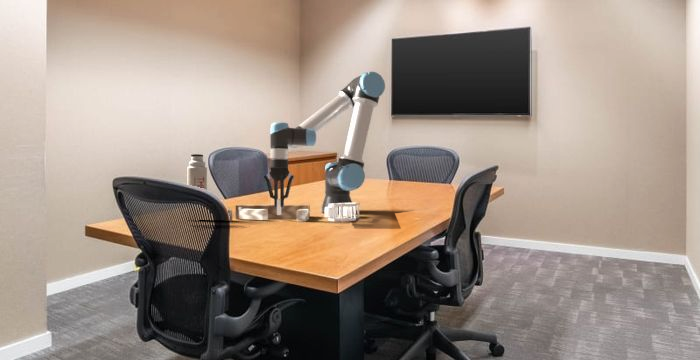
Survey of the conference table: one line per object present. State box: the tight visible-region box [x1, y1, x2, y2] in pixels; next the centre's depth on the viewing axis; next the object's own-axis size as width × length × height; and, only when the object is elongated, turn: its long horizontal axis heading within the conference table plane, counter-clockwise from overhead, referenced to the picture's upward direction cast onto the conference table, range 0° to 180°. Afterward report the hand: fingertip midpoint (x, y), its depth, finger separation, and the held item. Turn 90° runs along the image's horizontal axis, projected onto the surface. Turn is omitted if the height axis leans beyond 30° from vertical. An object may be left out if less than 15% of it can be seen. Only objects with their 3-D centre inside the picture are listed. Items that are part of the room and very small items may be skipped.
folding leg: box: [238, 207, 269, 221], centre depth 219 cm, size 15×4×5 cm, turn 59°
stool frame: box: [227, 204, 311, 223], centre depth 220 cm, size 35×20×6 cm, turn 89°
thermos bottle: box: [186, 153, 208, 191], centre depth 216 cm, size 8×8×28 cm
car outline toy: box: [324, 201, 361, 223], centre depth 222 cm, size 20×11×7 cm, turn 139°
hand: (279, 214), depth 217 cm, fingers closed
